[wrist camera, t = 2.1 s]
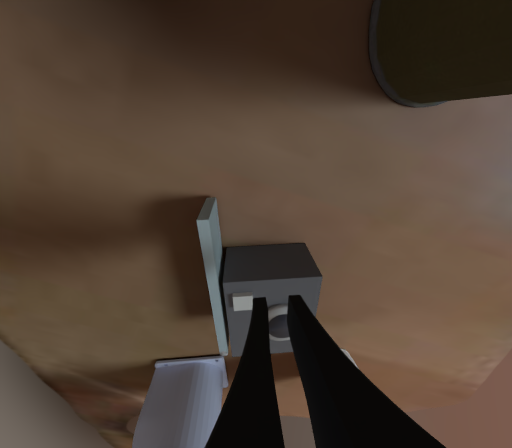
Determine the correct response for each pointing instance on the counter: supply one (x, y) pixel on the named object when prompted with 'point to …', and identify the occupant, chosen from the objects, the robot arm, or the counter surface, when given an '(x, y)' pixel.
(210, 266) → the side door
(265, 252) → the camera body
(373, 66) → the canister
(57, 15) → the counter surface
